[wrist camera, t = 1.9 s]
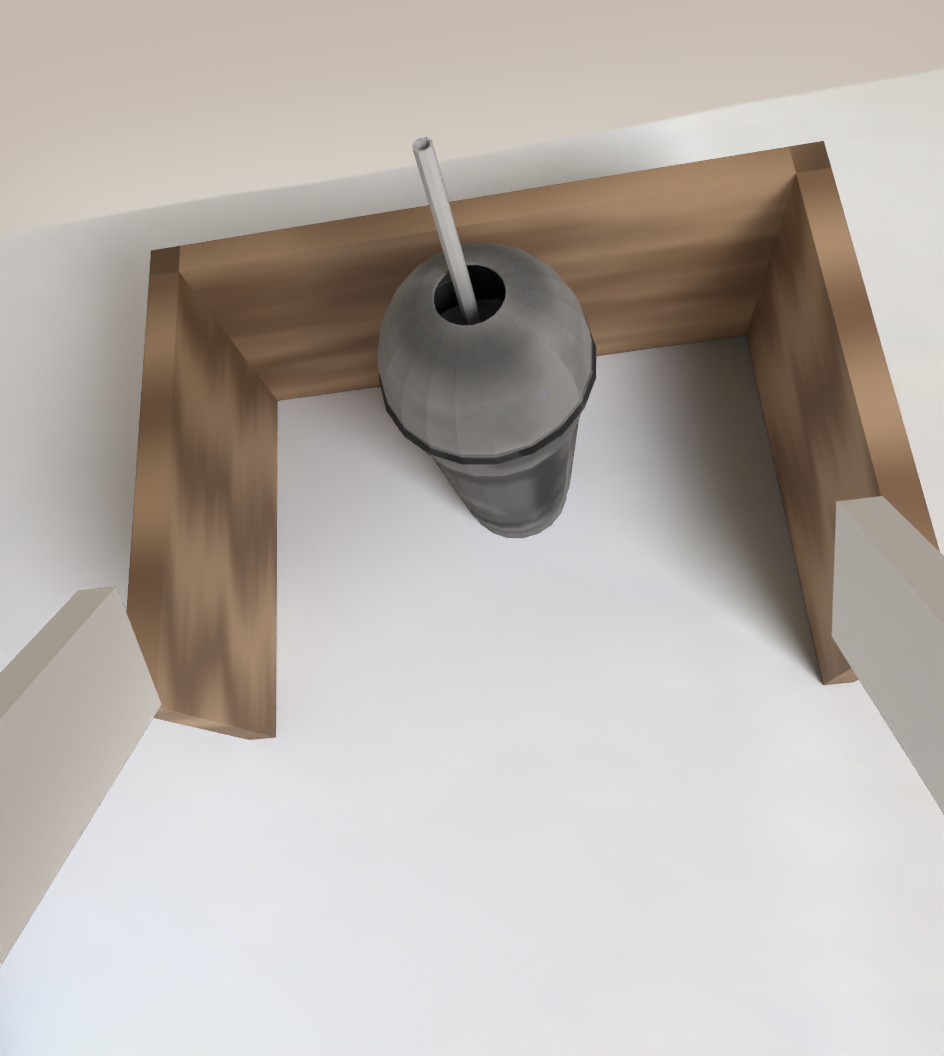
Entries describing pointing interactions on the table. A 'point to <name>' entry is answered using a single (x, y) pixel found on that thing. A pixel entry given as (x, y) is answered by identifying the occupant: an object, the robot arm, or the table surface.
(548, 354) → the beverage cup
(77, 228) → the table surface
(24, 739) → the robot arm
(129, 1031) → the table surface
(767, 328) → the open-sided wooden shelf
